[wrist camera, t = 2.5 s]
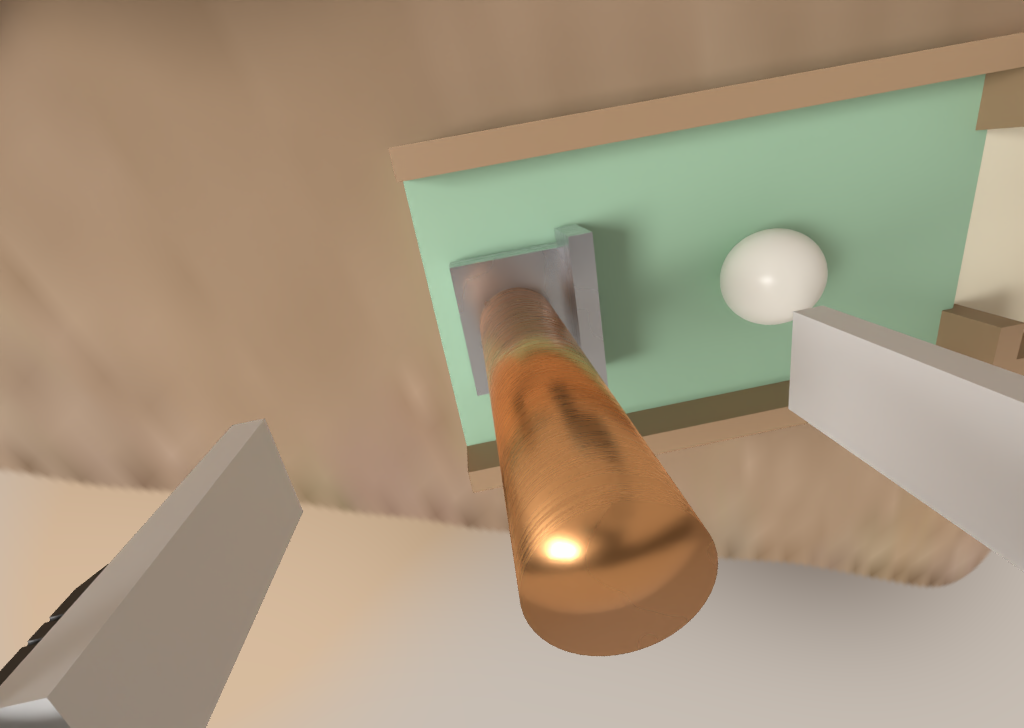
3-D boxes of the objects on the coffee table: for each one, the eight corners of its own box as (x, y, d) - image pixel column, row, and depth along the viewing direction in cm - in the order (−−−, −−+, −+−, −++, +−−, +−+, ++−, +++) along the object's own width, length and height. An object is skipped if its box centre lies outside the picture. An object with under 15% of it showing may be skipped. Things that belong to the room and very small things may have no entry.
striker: (446, 248, 18) (425, 426, 5) (575, 224, 18) (834, 344, 6) (478, 393, 20) (513, 747, 8) (592, 371, 20) (801, 682, 8)
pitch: (399, 151, 18) (385, 146, 14) (1120, 19, 19) (1269, -14, 15) (470, 450, 23) (473, 500, 19) (1035, 334, 24) (1133, 362, 20)
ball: (702, 232, 19) (753, 245, 15) (789, 215, 19) (857, 225, 16) (703, 317, 20) (751, 346, 17) (784, 301, 20) (847, 327, 17)
